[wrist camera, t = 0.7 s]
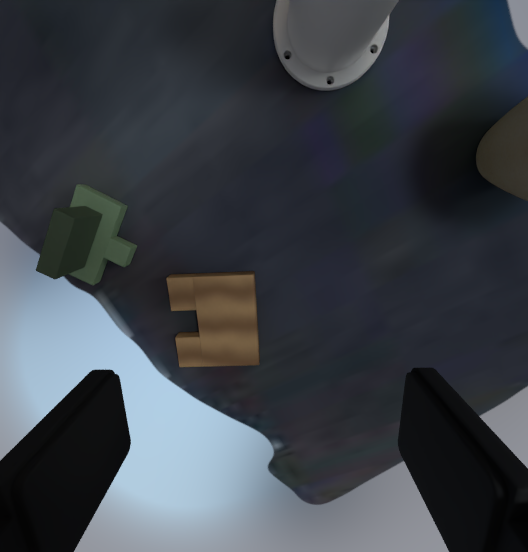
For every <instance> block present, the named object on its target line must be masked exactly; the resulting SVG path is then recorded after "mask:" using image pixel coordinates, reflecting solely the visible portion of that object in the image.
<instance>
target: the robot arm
mask: <svg viewBox="0 0 528 552" xmlns="http://www.w3.org/2000/svg"><path fill="white" fill-rule="evenodd" d="M398 1H399V0H276V5H275V10H274V16H273V37H274V42H275V47H276V51H277V53H278V56H279V59H280V61H281V63H282V64H283V66H284V68H285V69H286V71H287V72H288V73H289V74H290V75H291V76H292V77H293V78H294V79H295V80H297V81H298V82H299V83H301V84H302V85H304V86H307V87H309V88H311V89H316V90H320V91H331V90H336V89H340V88H343V87H345V86H348V85H350V84H352V83H353V82H355V81H356V80H357V79H359V78H360V77H361V76H362V75H363V74H364V73H365V72H366V71H367V70H368V69H369V68H370V67H371V65H372V64H373V63H374V62H375V60H376V58H377V57H378V55H379V54H380V52H381V50H382V47H383V44H384V42H385V39H386V36H387V31H388V26H389V14H390V13H391V11H392V10H393V8H394V7H395V5H396V4H397V2H398ZM370 50H372V51H373V54H372V53H371V52H370ZM286 56H289V59H288V60H287V59H285V57H286ZM327 81H330V82H331V84H330V85H329V84H327ZM130 441H131V440H130V435H129V428H128V423H127V418H126V412H125V406H124V400H123V395H122V389H121V383H120V379H119V376H118V375H117V374H115V373H114V372H113V370H92V371H91V372H90V373H89V374H88V375H87V376H86V377H85V378H84V379H83V380H82V381H81V382H80V383H79V384H78V385H77V386H76V387H75V388H74V389H73V390H71V391H70V393H68V394H67V395H66V396H65V398H63V399H62V401H61V402H59V403H58V404H57V405H56V406H55V407H54V409H52V410H51V411H50V412H49V413H48V414H47V415H46V416H45V417H44V418H43V419H42V420H41V421H40V422H39V423H38V424H37V425H36V426H35V427H34V428H33V429H32V430H31V431H30V432H29V433H28V434H27V435H26V436H25V437H24V438H23V439H22V440H21V441H20V442H19V443H18V444H17V445H16V446H15V447H14V448H13V449H12V450H11V451H10V452H9V453H8V454H7V455H6V456H5V457H4V458H3V459H2V460H1V461H0V552H74V550H75V548H76V547H77V545H78V543H79V541H80V539H81V538H82V536H83V534H84V532H85V530H86V528H87V527H88V525H89V523H90V521H91V519H92V518H93V516H94V514H95V512H96V510H97V509H98V507H99V505H100V503H101V501H102V499H103V498H104V496H105V494H106V492H107V490H108V489H109V487H110V485H111V483H112V481H113V480H114V477H115V476H116V474H117V472H118V471H119V469H120V467H121V465H122V463H123V461H124V460H125V458H126V456H127V454H128V452H129V449H130V444H131V442H130ZM398 446H399V451H400V453H401V456H402V458H403V460H404V462H405V463H406V466H407V468H408V470H409V472H410V474H411V476H412V478H413V480H414V482H415V484H416V485H417V488H418V490H419V492H420V494H421V496H422V498H423V500H424V502H425V504H426V506H427V508H428V510H429V512H430V514H431V516H432V518H433V520H434V522H435V524H436V526H437V528H438V530H439V532H440V534H441V536H442V538H443V540H444V542H445V544H446V546H447V548H448V550H449V552H528V468H527V467H526V466H525V465H524V464H523V463H522V462H521V461H520V460H519V459H518V458H517V457H516V456H515V455H514V454H513V452H512V451H511V450H510V449H509V448H508V447H507V446H506V445H505V444H504V443H503V442H502V441H501V439H499V437H498V436H497V435H496V434H495V433H494V432H493V431H492V430H491V429H490V428H489V427H488V426H487V425H486V423H485V422H484V421H483V420H482V419H481V418H480V417H479V416H478V415H477V414H476V413H475V412H474V411H473V409H472V408H471V407H470V406H469V405H468V404H467V403H466V402H465V401H464V400H463V399H462V398H461V397H460V396H459V394H458V393H457V392H456V391H455V390H454V389H453V388H452V387H451V386H450V385H449V384H448V383H447V382H446V381H445V379H444V378H443V377H442V376H441V375H440V374H439V373H438V372H437V371H436V370H435V369H434V368H413V369H412V371H411V373H407V375H406V380H405V388H404V396H403V404H402V412H401V420H400V428H399V436H398Z"/></svg>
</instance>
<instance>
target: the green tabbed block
mask: <svg viewBox="0 0 528 552" xmlns="http://www.w3.org/2000/svg"><path fill="white" fill-rule="evenodd" d="M127 207H128V206H127V205H125V204H123V203H121V202H119V201H117V200H115V199H113V198H111V197H109V196H107V195H105V194H103V193H101V192H99V191H97V190H95V189H93V188H91V187H89V186H87V185H77V186H76V189H75V192H74V195H73V198H72V202H71V205H70V207H66V208H55V209H54V211H53V214H52V217H51V221H50V224H49V228H48V231H47V234H46V238H45V241H44V244H43V248H42V251H41V255H40V258H39V261H38V265H37V268H36V271H38V272H40V273H42V274H44V275H47V276H49V277H51V278H53V279H57V278H60V277H62V276H65V275H67V274H69V275H72V276H74V277H76V278H78V279H80V280H82V281H85V282H87V283H89V284H91V285H95V284H96V283H98V282H100V280H101V278H102V275H103V272H104V269H105V267H106V264H107V261H108V260H110V261H112V262H114V263H116V264H118V265H120V266H122V267H126V266H128V265H129V264H130V263H131V261H132V258H133V255H134V253H135V250H136V248H137V245H135V244H133V243H131V242H129V241H126V240H124V239H122V238H120V237H118V236H117V234H118V231H119V229H120V226H121V223H122V221H123V218H124V215H125V212H126V210H127Z"/></svg>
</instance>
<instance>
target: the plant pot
mask: <svg viewBox="0 0 528 552" xmlns="http://www.w3.org/2000/svg"><path fill="white" fill-rule="evenodd" d="M476 164H477V168H478V170H479V172H480V174H481V175H482V176H483V177H484V178H485V179H486V180H488V181H489V182H491V183H492V184H494V185H495V186H497V187H499V188H501V189H502V190H504V191H506V192H508V193H510V194H512V195H515V196H517V197H519V198H521V199H524V200H526V201H528V97H526V98H525V99H524V100H522V101H521V102H520V103H519V104H517V105H516V106H515V107H514V108H513V109H511V110H510V111H509V112H508V113H507V114H505V115H504V116H503V117H502V118H501V119H500V120H499V121H498V122H497V123H495V124H494V125H493V126H492V127H491V128H490V129H489V130H488V131H487V132H486V134H485V135H484V136H483V138H482V139H481V141H480V143H479V146H478V148H477V153H476Z"/></svg>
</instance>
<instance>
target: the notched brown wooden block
mask: <svg viewBox="0 0 528 552" xmlns="http://www.w3.org/2000/svg"><path fill="white" fill-rule="evenodd" d="M166 279H167V285H168V292H169V299H170V306H171V311H184V310H196V311H197V319H198V327H199V332H179V333H178V335H177V336H176V338H175V340H176V346H177V353H178V360H179V367H202V366H240V365H259V361H260V355H259V338H258V321H257V304H256V287H255V272H254V271H246V272H221V273H196V274H171V275H170V276H168V277H167V278H166Z"/></svg>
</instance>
